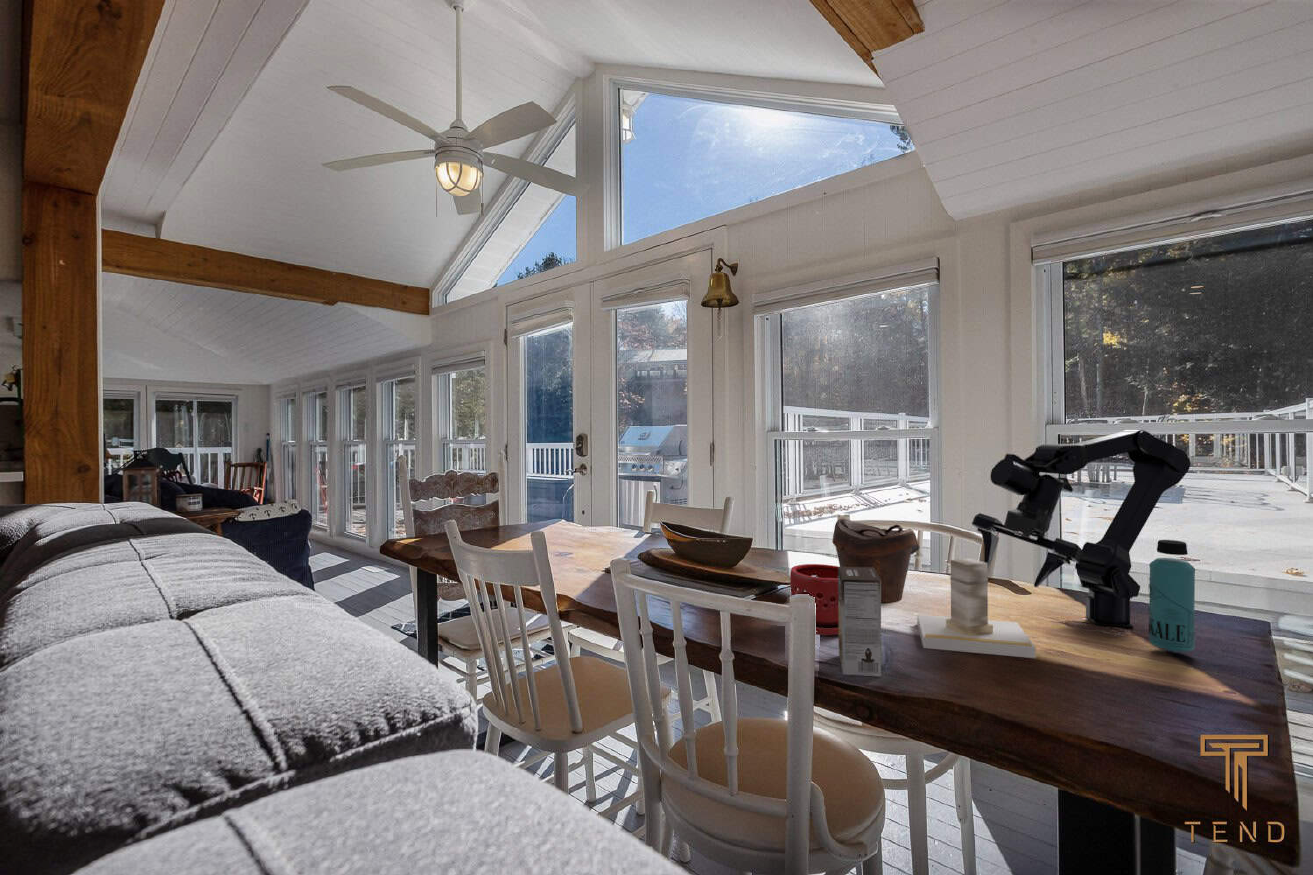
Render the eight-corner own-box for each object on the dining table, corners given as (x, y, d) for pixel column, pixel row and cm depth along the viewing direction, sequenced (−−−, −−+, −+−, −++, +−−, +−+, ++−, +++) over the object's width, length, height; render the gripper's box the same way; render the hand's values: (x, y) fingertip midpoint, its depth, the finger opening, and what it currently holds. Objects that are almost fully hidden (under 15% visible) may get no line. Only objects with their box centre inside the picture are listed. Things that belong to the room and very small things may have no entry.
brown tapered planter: (933, 605, 139) (932, 525, 139) (844, 607, 140) (842, 527, 140) (903, 586, 157) (901, 515, 157) (823, 587, 157) (822, 517, 157)
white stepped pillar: (970, 623, 121) (970, 557, 120) (993, 633, 115) (992, 563, 115) (946, 626, 119) (945, 559, 119) (967, 636, 114) (967, 565, 114)
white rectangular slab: (1017, 632, 121) (1017, 621, 121) (1035, 658, 108) (1035, 645, 108) (917, 624, 127) (917, 613, 127) (923, 647, 114) (923, 635, 114)
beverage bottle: (1185, 649, 111) (1185, 537, 111) (1204, 662, 105) (1204, 544, 105) (1141, 645, 113) (1141, 536, 113) (1157, 658, 107) (1157, 543, 107)
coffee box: (837, 654, 111) (836, 565, 111) (875, 656, 110) (874, 566, 110) (842, 675, 102) (841, 578, 102) (883, 677, 101) (882, 579, 101)
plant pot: (818, 644, 117) (817, 580, 116) (777, 624, 129) (777, 566, 128) (872, 633, 122) (871, 573, 122) (828, 615, 134) (828, 560, 134)
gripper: (978, 480, 124) (949, 552, 124) (1085, 510, 111) (1053, 591, 110) (993, 493, 132) (966, 561, 132) (1095, 523, 119) (1066, 599, 118)
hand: (1009, 577), depth 123 cm, fingers open, 9 cm apart
